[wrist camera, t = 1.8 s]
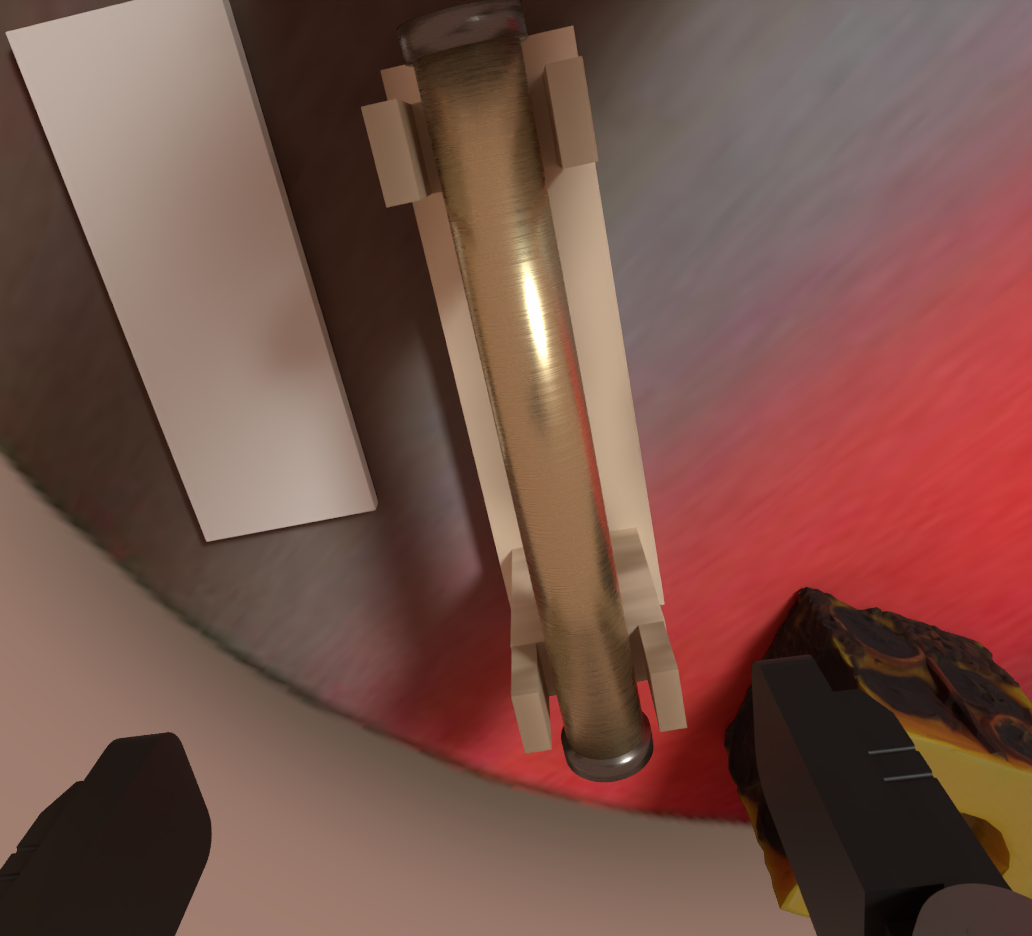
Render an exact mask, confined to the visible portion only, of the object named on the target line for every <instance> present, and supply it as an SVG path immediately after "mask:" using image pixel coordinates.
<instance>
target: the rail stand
mask: <svg viewBox="0 0 1032 936" xmlns="http://www.w3.org/2000/svg"><path fill="white" fill-rule="evenodd" d="M521 46H522V51H523V57H524V62H525V68H526V73H527V79H528V84H529V90H530V95H531V101H532V106H533V112H534V117H535V123H536V129H537V134H538V140H539V145H540V151H541V156H542V162H543V167H544V173H545V178H546V184H547V189H548V195H549V200H550V206H551V212H552V217H553V223H554V228H555V234H556V239H557V245H558V250H559V256H560V261H561V267H562V272H563V278H564V283H565V289H566V295H567V300H568V306H569V311H570V317H571V322H572V328H573V333H574V339H575V344H576V350H577V355H578V361H579V366H580V372H581V377H582V383H583V389H584V394H585V400H586V405H587V411H588V416H589V422H590V427H591V433H592V438H593V444H594V449H595V455H596V460H597V466H598V472H599V477H600V483H601V488H602V494H603V499H604V505H605V510H606V516H607V521H608V527H609V532H610V538H611V543H612V549H613V555H614V560H615V566H616V571H617V577H618V582H619V588H620V593H621V599H622V604H623V610H624V615H625V621H626V626H627V632H628V638H629V643H630V649H631V654H632V660H633V665H634V671H635V676H636V682H638V681H644V680H648V683H649V687H650V691H651V695H652V700H653V704H654V708H655V712H656V716H657V720H658V725H659V729H660V732H664V731H670V730H676V729H682V728H687V724H686V717H685V711H684V705H683V698H682V692H681V685H680V679H679V673H678V668H677V664H676V661H675V658H674V654H673V651H672V648H671V644H670V641H669V638H668V634H667V631H666V625H665V620H664V616H663V613H662V610H661V606H660V605H664V597H663V591H662V585H661V578H660V572H659V566H658V559H657V553H656V547H655V540H654V534H653V528H652V521H651V515H650V509H649V502H648V496H647V490H646V483H645V477H644V471H643V464H642V458H641V452H640V445H639V439H638V432H637V426H636V420H635V413H634V407H633V401H632V394H631V388H630V382H629V375H628V369H627V363H626V356H625V350H624V344H623V337H622V331H621V325H620V318H619V312H618V306H617V299H616V293H615V287H614V280H613V274H612V268H611V261H610V255H609V249H608V242H607V236H606V230H605V223H604V217H603V211H602V204H601V198H600V192H599V185H598V179H597V173H596V166H595V162H597V161H599V160H598V153H597V147H596V140H595V134H594V128H593V121H592V115H591V108H590V102H589V96H588V89H587V83H586V76H585V70H584V63H583V57H582V56H580V57H578V52H577V46H576V39H575V33H574V27H573V26H568V27H564V28H560V29H555V30H551V31H547V32H543V33H538V34H534V35H530V36H528V38H527V39H526V40H525V41H523V42H521ZM380 71H381V75H382V80H383V84H384V88H385V92H386V96H387V100H388V101H384V102H380V103H375V104H371V105H367V106H362V107H361V110H362V114H363V118H364V121H365V125H366V129H367V133H368V137H369V141H370V145H371V149H372V153H373V157H374V161H375V165H376V169H377V173H378V176H379V180H380V184H381V188H382V192H383V196H384V200H385V204H386V208H387V207H392V206H396V205H401V204H405V203H410V202H412V203H413V207H414V212H415V216H416V220H417V224H418V228H419V232H420V236H421V240H422V245H423V249H424V253H425V257H426V261H427V265H428V269H429V273H430V278H431V282H432V286H433V290H434V294H435V298H436V302H437V306H438V311H439V315H440V319H441V323H442V327H443V331H444V335H445V339H446V344H447V348H448V352H449V356H450V360H451V364H452V368H453V372H454V377H455V381H456V385H457V389H458V393H459V397H460V401H461V405H462V410H463V414H464V418H465V422H466V426H467V430H468V434H469V438H470V443H471V447H472V451H473V455H474V459H475V463H476V467H477V471H478V476H479V480H480V484H481V488H482V492H483V496H484V500H485V504H486V509H487V513H488V517H489V521H490V525H491V529H492V533H493V537H494V542H495V546H496V550H497V554H498V558H499V562H500V566H501V570H502V575H503V579H504V583H505V587H506V591H507V595H508V599H509V603H510V608H511V643H510V647H511V651H512V664H511V699H512V703H513V707H514V711H515V715H516V719H517V722H518V726H519V730H520V734H521V738H522V742H523V746H524V750H525V754H526V753H532V752H538V751H545V750H551V730H550V711H549V696H553V695H557V694H556V689H555V685H554V681H553V676H552V672H551V667H550V663H549V659H548V654H547V650H546V646H545V641H544V637H543V632H542V628H541V624H540V619H539V615H538V610H537V606H536V602H535V597H534V593H533V589H532V584H531V580H530V575H529V571H528V567H527V562H526V558H525V553H524V549H523V545H522V540H521V536H520V532H519V527H518V523H517V518H516V514H515V510H514V505H513V501H512V496H511V492H510V488H509V483H508V479H507V474H506V470H505V466H504V461H503V457H502V453H501V448H500V444H499V439H498V435H497V431H496V426H495V422H494V417H493V413H492V409H491V404H490V400H489V396H488V391H487V387H486V382H485V378H484V374H483V369H482V365H481V360H480V356H479V352H478V347H477V343H476V339H475V334H474V330H473V325H472V321H471V317H470V312H469V308H468V303H467V299H466V295H465V290H464V286H463V281H462V277H461V273H460V268H459V264H458V260H457V255H456V251H455V246H454V242H453V238H452V233H451V229H450V224H449V220H448V216H447V211H446V207H445V203H444V198H443V194H442V189H441V185H440V181H439V176H438V172H437V167H436V163H435V159H434V154H433V150H432V146H431V141H430V137H429V132H428V128H427V124H426V119H425V115H424V110H423V106H422V102H421V97H420V93H419V88H418V84H417V80H416V75H415V71H414V67H408V66H405V65H401V66H397V67H393V68H388V69H384V70H380Z"/></svg>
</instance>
